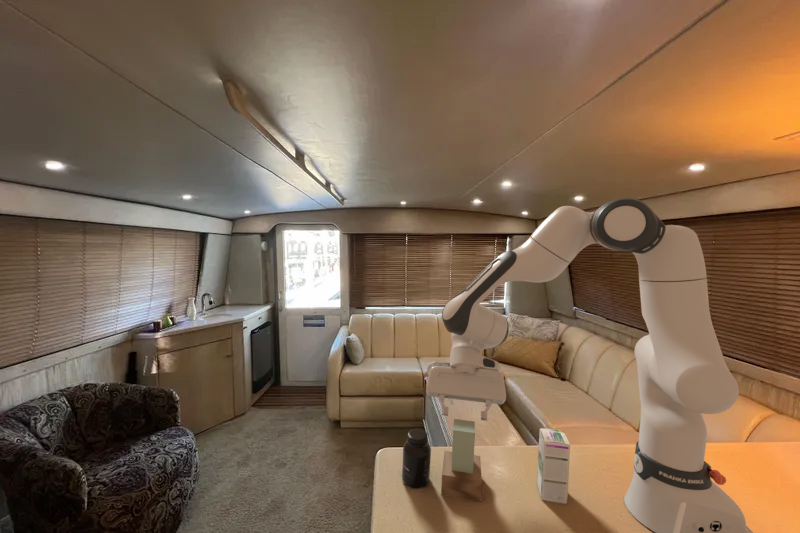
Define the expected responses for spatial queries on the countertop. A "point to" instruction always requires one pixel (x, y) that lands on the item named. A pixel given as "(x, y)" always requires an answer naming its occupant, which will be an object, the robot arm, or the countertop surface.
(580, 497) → the countertop surface
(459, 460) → the sage block
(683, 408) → the robot arm
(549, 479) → the syrup box
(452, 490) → the block
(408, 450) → the supplement bottle
